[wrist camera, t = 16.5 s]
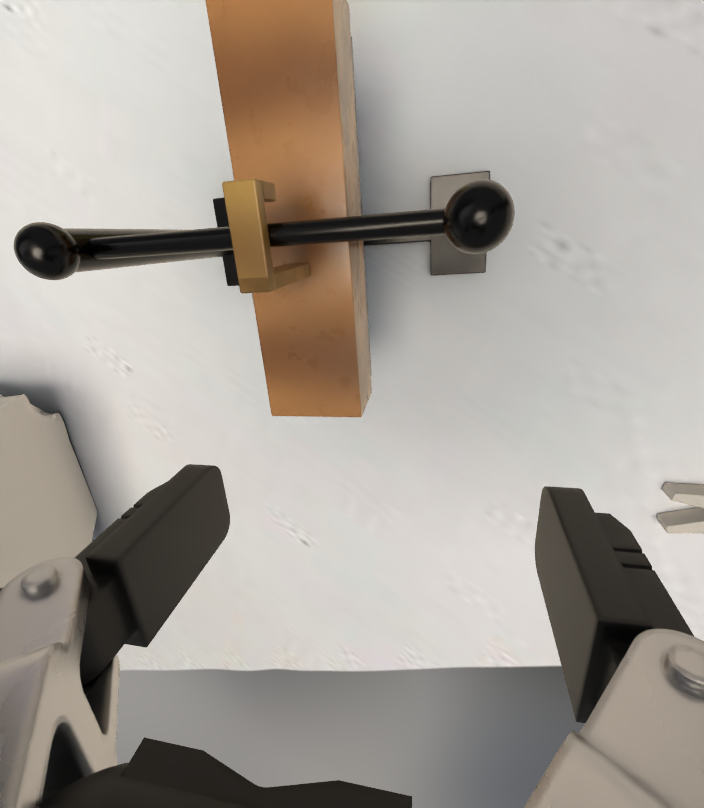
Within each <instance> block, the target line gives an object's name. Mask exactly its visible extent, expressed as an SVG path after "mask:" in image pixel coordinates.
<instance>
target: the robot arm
mask: <svg viewBox="0 0 704 808" xmlns="http://www.w3.org/2000/svg"><path fill="white" fill-rule="evenodd" d="M229 524H230V514H229V508H228V504H227V499H226V494H225V489H224V484H223V479H222V475H221V472H220V470H219V468H218V467H216V466H209V465H192V464H189V465H186V466H185V467H184V468H182V469H181V470H180V471H179V472H178V473H177V474H176V475H175V476H174V477H173V478H171V479H170V480H169V481H168V482H166V483H164V484H162V485H161V486H159V487H157V488H155V489H153V490H151V491H150V492H148V493H147V494H146V495H145V496H143V497H142V498H141V499H140V500H139V501H138V502H137V503H136V504H134V507H133V508H130V509H129V510H128V511H126V512H125V513H124V514H123V515H122V518H121V519H117V520H116V521H115V522H114V523H113V524H112V525H111V526H110V527H108V528H107V529H106V530H105V531H104V532H103V533H102V534H100V535H99V536H98V537H97V538H96V539H95V540H94V541H93V542H91V543H90V544H89V545H88V546H87V547H86V548H85V549H84V550H82V551H81V552H80V553H79V554H78V555H77V556H76V557H75V558H72V557H60V558H55V559H51V560H47V561H44V562H41V563H39V564H37V565H34V566H32V567H30V568H28V569H26V570H25V571H23V572H21V573H20V574H19V575H17V576H16V577H14V578H13V579H12V580H11V581H10V582H8V583H7V584H6V585H5V586H4V588H0V808H412V796H407V795H403V794H398V793H393V792H389V791H384V790H379V789H375V788H371V787H366V786H362V785H357V784H353V783H348V782H344V781H328V782H319V783H308V784H299V785H290V786H279V787H269V788H263V787H259V786H257V785H255V784H253V783H252V782H250V781H248V780H247V779H245V778H244V777H242V776H241V775H239V774H238V773H236V772H235V771H233V770H232V769H230V768H229V767H227V766H226V765H224V764H223V763H221V762H219V761H218V760H217V759H215V758H214V757H212V756H210V755H209V754H207V753H206V752H204V751H202V750H198V749H193V748H189V747H185V746H180V745H175V744H171V743H166V742H162V741H157V740H153V739H148V738H144V739H143V740H142V742H141V744H140V745H139V747H138V749H137V750H136V752H135V754H134V756H133V757H132V759H131V761H130V762H129V763H124V764H120V765H118V763H117V754H116V735H117V714H118V693H119V672H120V661H119V659H118V656H117V653H118V651H119V650H120V649H121V648H122V646H123V645H124V644H129V645H135V646H141V647H147V646H148V645H149V644H150V642H151V641H152V639H153V638H154V637H155V635H156V634H157V632H158V631H159V630H160V628H161V627H162V625H163V624H164V623H165V621H166V620H167V618H168V617H169V616H170V614H171V613H172V611H173V610H174V609H175V607H176V606H177V604H178V603H179V602H180V600H181V599H182V597H183V596H184V595H185V593H186V592H187V590H188V589H189V588H190V586H191V585H192V583H193V582H194V581H195V579H196V578H197V577H198V575H199V574H200V572H201V571H202V570H203V568H204V567H205V565H206V564H207V563H208V561H209V560H210V558H211V557H212V556H213V554H214V553H215V551H216V550H217V549H218V547H219V546H220V544H221V543H222V542H223V540H224V539H225V537H226V535H227V532H228V529H229ZM535 561H536V568H537V573H538V577H539V581H540V584H541V588H542V592H543V596H544V600H545V604H546V607H547V611H548V615H549V619H550V623H551V627H552V630H553V634H554V638H555V642H556V646H557V650H558V653H559V657H560V661H561V665H562V668H563V673H564V676H565V680H566V684H567V687H568V692H569V695H570V699H571V703H572V707H573V711H574V715H575V719H576V721H577V722H582V723H585V725H584V727H583V728H582V730H581V731H580V732H579V733H576V732H575V731H573V732H571V733H570V734H569V735H568V737H567V738H566V739H565V741H564V742H563V744H562V745H561V747H560V748H559V750H558V751H557V753H556V755H555V756H554V758H553V760H552V762H551V763H550V765H549V766H548V768H547V770H546V771H545V773H544V775H543V776H542V778H541V780H540V781H539V783H538V785H537V786H536V788H535V790H534V791H533V793H532V795H531V796H530V798H529V800H528V801H527V803H526V805H525V807H524V808H704V641H702V640H700V639H698V638H696V637H694V635H693V634H692V632H691V630H690V629H689V627H688V625H687V624H686V622H685V620H684V619H683V617H682V615H681V614H680V612H679V610H678V609H677V607H676V605H675V604H674V602H673V600H672V599H671V597H670V595H669V594H668V592H667V590H666V589H665V587H664V586H663V584H662V582H661V581H660V579H659V577H658V576H657V574H656V572H655V571H653V570H652V566H651V564H650V562H649V561H648V559H647V557H646V556H645V554H642V549H641V547H640V546H639V544H638V542H637V541H636V539H635V537H634V536H633V534H632V532H631V531H630V530H629V529H628V528H627V527H625V526H624V525H623V524H622V523H620V522H619V521H618V520H617V519H616V518H614V517H613V516H612V515H611V514H606V513H595V512H594V510H593V509H592V507H591V505H590V503H589V501H588V499H587V497H586V495H585V493H584V491H583V490H582V489H579V488H562V487H544V488H543V490H542V494H541V501H540V509H539V517H538V524H537V532H536V540H535Z"/></svg>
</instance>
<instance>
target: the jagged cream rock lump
mask: <svg viewBox="0 0 704 808" xmlns="http://www.w3.org/2000/svg"><path fill="white" fill-rule="evenodd" d="M97 513H98V512H97V510H96V507H95V504H94V502H93V499H92V496H91V494H90V491H89V489H88V486H87V484H86V481H85V479H84V476H83V473H82V471H81V468H80V466H79V463H78V461H77V458H76V456H75V453H74V451H73V448H72V446H71V443H70V441H69V437H68V434H67V431H66V427H65V424H64V422H63V419H62V417H61V416H60V414H59V413H54V414H50V413H44V412H43V411H42V410H40V409H39V408H37V407H35V406H33V405H31V404H30V402H29V400H28V398H27V396H26V395H25V394H24V395H17V396H10V397H3V396H2V395H1V394H0V588H4V586H5V585H6V584H7V583H8V582H10V581H11V580H12V579H13V578H14V577H16V576H17V575H19V574H20V573H21V572H23V571H25V570H26V569H28V568H30V567H32V566H34V565H37V564H39V563H41V562H44V561H47V560H51V559H55V558H60V557H72V558H75V557H76V556H77V555H78V554H79V553H80V552H81V551H82V550H84V549H85V548H86V547H87V546H88V545H89V544H90V543H91V542H92V537H93V532H94V527H95V522H96V517H97Z"/></svg>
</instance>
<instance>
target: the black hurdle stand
mask: <svg viewBox="0 0 704 808" xmlns="http://www.w3.org/2000/svg"><path fill="white" fill-rule="evenodd" d="M213 203H214V209H215V215H216V221H217V226H218V228H208V229H196V230H159V229H63V228H61V227H59V226H56V225H54V224H50V223H45V222H36V223H31V224H28V225H26V226H24V227H23V228H22V229H21V230H19V232H18V233H17V235H16V237H15V240H14V251H15V255H16V257H17V259H18V261H19V262H20V264H21V265H22V266H23V267H24V268H25V269H26V270H27V271H29V272H30V273H32V274H33V275H35V276H37V277H40V278H43V279H48V280H60V279H64V278H67V277H69V276H71V275H72V274H73V273H74V272H83V271H92V270H101V269H110V268H120V267H129V266H138V265H147V264H156V263H166V262H175V261H184V260H193V259H203V258H212V257H221V256H223V262H224V267H225V273H226V279H227V285H228V286H237V285H239V280H238V274H237V269H236V263H235V257H234V251H233V245H232V239H231V233H230V227H229V221H228V216H227V210H226V204H225V198H216V199H213ZM514 215H515V210H514V204H513V200H512V198H511V196H510V194H509V192H508V191H507V190H506V189H505V188H504V187H503V186H502V185H501V184H499V183H497V182H495V181H492V180H490V171H484V172H474V173H464V174H454V175H444V176H434V177H431V210H420V211H408V212H396V213H384V214H373V215H361V216H349V217H337V218H325V219H314V220H302V221H290V222H278V223H267V226H268V233H269V240H270V247H281V246H295V245H309V244H323V243H336V242H350V241H364V246H365V245H379V244H394V243H408V242H423V241H431V275H446V274H465V273H484V272H485V269H486V252H488V251H490V250H492V249H494V248H495V247H497V246H498V245H499V244H500V243H502V242H503V240H504V239H505V238H506V237H507V235H508V234H509V232H510V230H511V228H512V225H513V221H514Z"/></svg>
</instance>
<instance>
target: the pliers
mask: <svg viewBox="0 0 704 808" xmlns="http://www.w3.org/2000/svg"><path fill="white" fill-rule="evenodd" d="M662 490H663V491H664V492H665V493H666V495H667V496H668V497H669V498H670V499H671V500H672V501H676V502H681V503H685V504H689V505H693V506H697V507H698V508H692V509H685V510H679V511H672V512H665V513H659V514H657V519H658V521H659V523H660V524H661V525H662V527H663V528H664V529H665V531H666V532H667V533H704V509H702V508H704V485H695V484H681V483H666V482H665V484H664V486H663V487H662ZM700 507H701V508H700Z"/></svg>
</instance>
